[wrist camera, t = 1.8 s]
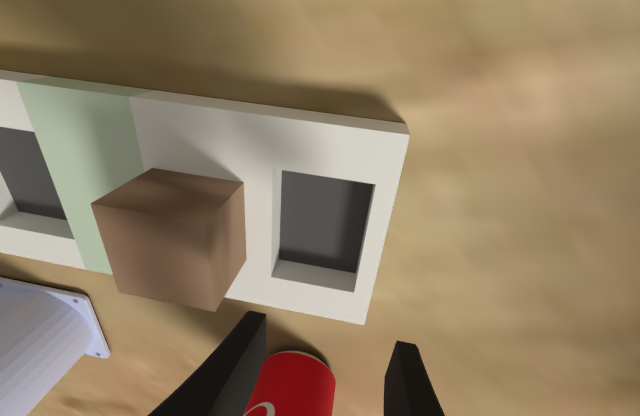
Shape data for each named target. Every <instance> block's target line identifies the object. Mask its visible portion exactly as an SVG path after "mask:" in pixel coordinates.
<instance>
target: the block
mask: <svg viewBox="0 0 640 416" xmlns="http://www.w3.org/2000/svg"><path fill="white" fill-rule="evenodd" d="M90 204H91V208H92V211H93V214H94V217H95V220H96V223H97V226H98V229H99V232H100V236H101V239H102V242H103V245H104V248H105V251H106V254H107V257H108V260H109V264H110V267H111V270H112V273H113V276H114V279H115V282H116V285H117V288H118V292H120V293H125V294H130V295H135V296H140V297H145V298H150V299H154V300H159V301H164V302H169V303H174V304H179V305H184V306H188V307H193V308H198V309H203V310H208V311H213V312H216V310H217V308H218V306H219V305H220V303H221V301H222V300H223V298H224V296H225V295H226V293H227V291H228V290H229V288H230V286H231V285H232V283H233V281H234V280H235V278H236V276H237V275H238V273H239V271H240V270H241V268H242V266H243V265H244V263H245V261H246V260H247V259H246V230H245V202H244V182H238V181H232V180H225V179H219V178H213V177H207V176H200V175H194V174H188V173H181V172H175V171H169V170H163V169H156V168H151V169H149V170H148V171H146V172H144V173H142V174H141V175H139V176H137V177H135V178H134V179H132V180H130V181H128V182H127V183H125V184H123V185H122V186H120V187H118V188H116V189H115V190H113V191H111V192H109V193H108V194H106V195H104V196H102V197H101V198H99V199H97V200H96V201H94V202H92V203H90Z"/></svg>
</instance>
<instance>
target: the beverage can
mask: <svg viewBox="0 0 640 416" xmlns="http://www.w3.org/2000/svg"><path fill="white" fill-rule="evenodd" d="M334 392H335V378H334V375H333V373H332V372H331V370H330V369H329V368H328V367H327V366H326V365H325V364H324V363H323V362H322V361H320V360H319V359H318V358H316V357H315V356H313V355H311V354H308V353H305V352H301V351H283V352H278V353H275V354H273V355H270V356H269V357H267V358H266V359H265V360H264V361H263V363H262V367H261V370H260V373H259V376H258V379H257V382H256V385H255V387H254V390H253V392H252V395H251V397H250V400H249V402H248V404H247V407H246V410H245V413H244V415H243V416H332V409H333V400H334Z"/></svg>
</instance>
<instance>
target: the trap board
mask: <svg viewBox="0 0 640 416" xmlns="http://www.w3.org/2000/svg"><path fill="white" fill-rule="evenodd" d="M409 137H410V133H409V130H408V127H407V124H405V123H398V122H390V121H383V120H375V119H368V118H360V117H353V116H345V115H338V114H330V113H322V112H315V111H307V110H300V109H292V108H285V107H277V106H270V105H262V104H255V103H247V102H240V101H232V100H225V99H217V98H210V97H202V96H195V95H187V94H179V93H172V92H164V91H157V90H149V89H142V88H134V87H127V86H119V85H112V84H104V83H97V82H89V81H82V80H74V79H67V78H59V77H51V76H44V75H36V74H29V73H21V72H14V71H6V70H0V252H1V253H6V254H11V255H16V256H21V257H26V258H31V259H36V260H41V261H46V262H51V263H56V264H61V265H66V266H71V267H76V268H81V269H86V270H91V271H96V272H101V273H106V274H111V275H113V273H112V270H111V267H110V264H109V260H108V257H107V254H106V251H105V248H104V245H103V242H102V239H101V236H100V232H99V229H98V226H97V223H96V220H95V217H94V214H93V211H92V208H91V204H90V203H92V202H94V201H96V200H97V199H99V198H101V197H102V196H104V195H106V194H108V193H109V192H111V191H113V190H115V189H116V188H118V187H120V186H122V185H123V184H125V183H127V182H128V181H130V180H132V179H134V178H135V177H137V176H139V175H141V174H142V173H144V172H146V171H148V170H149V169H151V168H156V169H163V170H169V171H175V172H181V173H188V174H194V175H200V176H207V177H213V178H219V179H225V180H232V181H238V182H244V202H245V230H246V259H247V260H246V261H245V263H244V265H243V266H242V268H241V270H240V271H239V273H238V275H237V276H236V278H235V280H234V281H233V283H232V285H231V286H230V288H229V290H228V291H227V293H226V295H225V296H224V297H226V298H231V299H236V300H241V301H246V302H251V303H256V304H261V305H266V306H271V307H276V308H281V309H286V310H291V311H296V312H301V313H306V314H311V315H316V316H321V317H326V318H331V319H336V320H341V321H346V322H351V323H356V324H361V325H364V324H365V320H366V315H367V311H368V307H369V303H370V299H371V295H372V291H373V286H374V282H375V278H376V274H377V270H378V266H379V262H380V257H381V253H382V249H383V245H384V241H385V237H386V233H387V228H388V224H389V220H390V216H391V212H392V208H393V204H394V199H395V195H396V191H397V187H398V183H399V179H400V175H401V170H402V166H403V162H404V158H405V154H406V150H407V146H408V141H409Z"/></svg>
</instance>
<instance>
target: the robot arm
mask: <svg viewBox="0 0 640 416" xmlns="http://www.w3.org/2000/svg"><path fill="white" fill-rule="evenodd" d="M265 353H266V314H263V313H258V312H254V311H248V312H247V313H246V314H245V315H244V316H243V318H242V319H241V320H240V322H239V323H238V324H237V325H236V327H235V328H234V329H233V330H232V331H231V333H230V334H229V335H228V336H227V337H226V338H225V339H224V341H223V342H222V343H221V344H220V345H219V346H218V347H217V348H216V350H215V351H214V352H213V353H212V354H211V355H210V356H209V357H208V358H207V359H206V360H205V361H204V363H203V364H202V365H201V366H200V367H199V368H198V369H197V370H196V371H195V372H194V373H193V374H192V375H191V376H190V377H189V378H188V379H187V380H186V381H185V382H184V383H183V384H182V385H181V386H180V387H179V388H177V389H176V390H175V391H174V392H173V393H172V394H171V395H170V396H169V397H168V398H167V399H166V400H165V401H163V402H162V403H161V404H160V405H159V406H158V407H157V408H156V409H154V410H153V411H152V412H151V413H150V414H149V415H148V416H243V414H244V412H245V409H246V407H247V404H248V402H249V400H250V397H251V395H252V392H253V390H254V387H255V385H256V382H257V379H258V376H259V373H260V370H261V367H262V363H263V360H264V356H265ZM83 354H87V355H92V356H96V357H100V358H108V357H109V356H110V351H109V348H108V345H107V343H106V340H105V338H104V335H103V333H102V330H101V328H100V325H99V323H98V320H97V317H96V315H95V312H94V310H93V307H92V305H91V302H90V300H89V298H88V297H87V296H86V295H83V294H79V293H74V292H69V291H64V290H59V289H55V288H50V287H45V286H40V285H36V284H31V283H26V282H21V281H16V280H12V279H7V278H2V277H0V416H26V415H27V414H28V413H29V412H30V411H31V410H32V409H33V408H34V407H35V406H36V405H37V404H38V403H39V402H40V400H41V399H42V398H43V397H44V396H45V395H46V394H47V393H48V392H49V391H50V390H51V389H52V388H53V386H54V385H55V384H56V383H57V382H58V381H59V380H60V379H61V378H62V377H63V376H64V375H65V374H66V373H67V371H68V370H69V369H70V368H71V367H72V366H73V365H74V364H75V363H76V362H77V361H78V360H79V359H80V357H81V356H82V355H83ZM384 416H445V415H444V412H443V410H442V408H441V406H440V404H439V401H438V399H437V397H436V394H435V392H434V390H433V387H432V385H431V382H430V380H429V377H428V375H427V372H426V369H425V367H424V364H423V361H422V359H421V356H420V353H419V350H418V347H417V346H416V345H415V344H411V343H406V342H401V341H397V342H396V345H395V348H394V351H393V354H392V357H391V360H390V363H389V366H388V369H387V372H386V375H385V384H384Z"/></svg>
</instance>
